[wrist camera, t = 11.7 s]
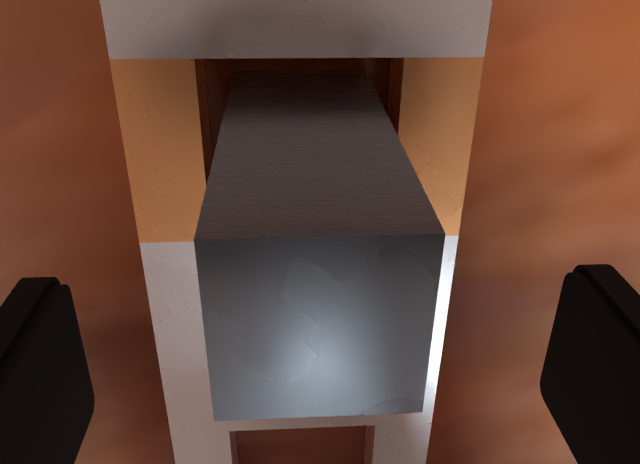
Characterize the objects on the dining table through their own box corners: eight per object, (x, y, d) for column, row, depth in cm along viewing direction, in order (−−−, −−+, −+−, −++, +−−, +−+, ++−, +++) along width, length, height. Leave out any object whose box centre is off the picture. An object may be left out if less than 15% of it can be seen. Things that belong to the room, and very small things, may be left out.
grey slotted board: (402, 531, 30) (410, 570, 28) (199, 541, 29) (194, 583, 27) (484, -122, 16) (510, -123, 14) (101, -127, 15) (78, -129, 14)
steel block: (360, 188, 20) (422, 412, 12) (241, 190, 20) (214, 421, 11) (365, 70, 18) (445, 233, 10) (233, 71, 18) (194, 240, 9)
